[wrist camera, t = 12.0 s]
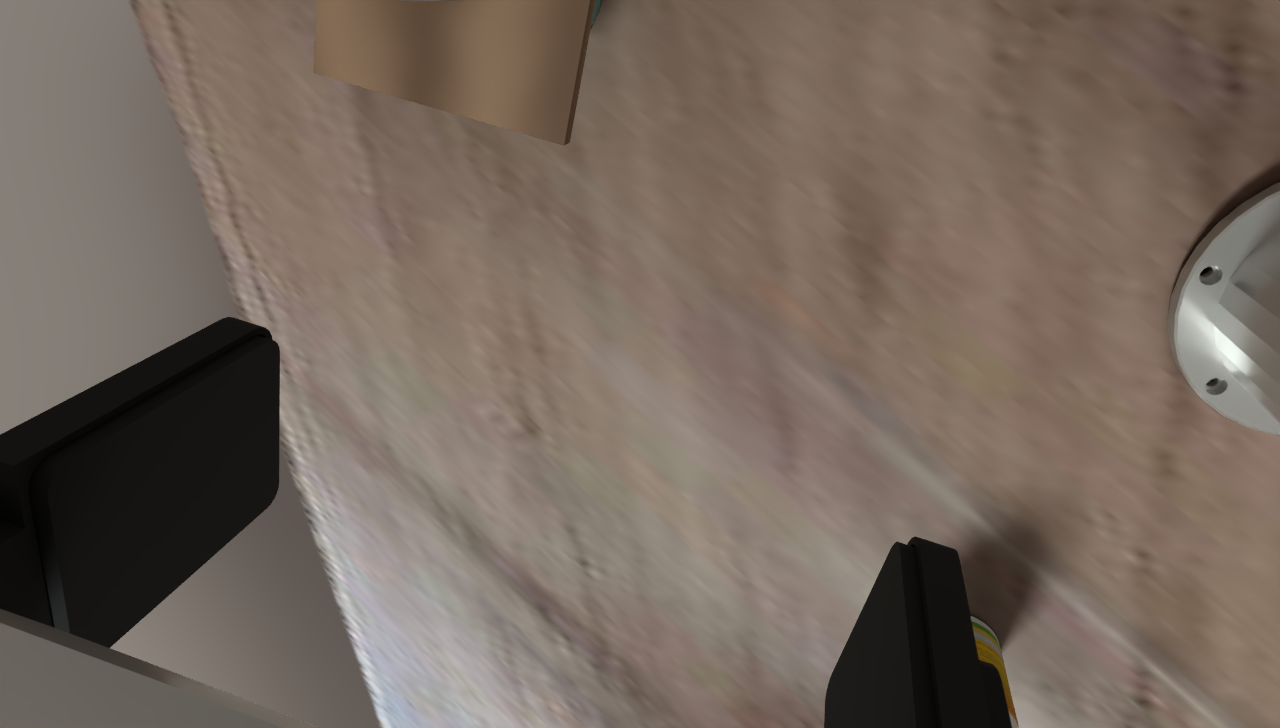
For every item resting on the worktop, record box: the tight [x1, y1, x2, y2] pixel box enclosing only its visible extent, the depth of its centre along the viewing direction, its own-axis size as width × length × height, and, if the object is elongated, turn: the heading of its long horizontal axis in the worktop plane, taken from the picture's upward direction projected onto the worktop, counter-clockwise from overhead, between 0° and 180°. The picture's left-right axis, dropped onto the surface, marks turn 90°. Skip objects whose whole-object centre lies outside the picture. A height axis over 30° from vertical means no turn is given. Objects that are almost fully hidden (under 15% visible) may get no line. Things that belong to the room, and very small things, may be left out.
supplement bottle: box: [971, 616, 1019, 728], centre depth 43 cm, size 5×5×10 cm
